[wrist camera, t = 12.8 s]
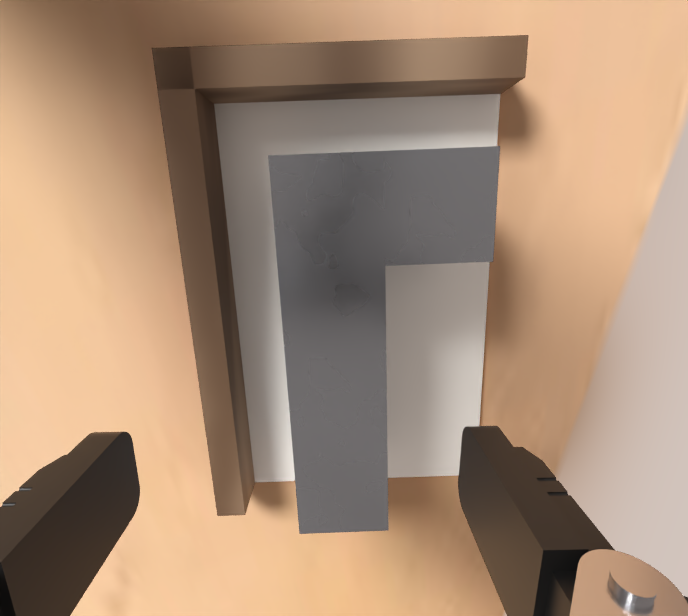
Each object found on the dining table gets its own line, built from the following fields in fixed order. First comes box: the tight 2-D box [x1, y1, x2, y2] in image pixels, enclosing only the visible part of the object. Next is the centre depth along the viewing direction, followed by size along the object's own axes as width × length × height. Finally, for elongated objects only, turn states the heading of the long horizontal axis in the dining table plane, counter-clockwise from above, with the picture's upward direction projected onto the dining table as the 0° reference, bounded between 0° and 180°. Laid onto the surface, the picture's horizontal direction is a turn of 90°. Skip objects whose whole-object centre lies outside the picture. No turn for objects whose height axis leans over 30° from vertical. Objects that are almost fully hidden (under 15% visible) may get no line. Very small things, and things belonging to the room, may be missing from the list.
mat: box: [214, 94, 500, 482], centre depth 22 cm, size 14×21×1 cm, turn 2°
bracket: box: [268, 146, 500, 534], centre depth 19 cm, size 16×8×6 cm, turn 2°
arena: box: [152, 35, 528, 516], centre depth 20 cm, size 15×22×3 cm, turn 2°
